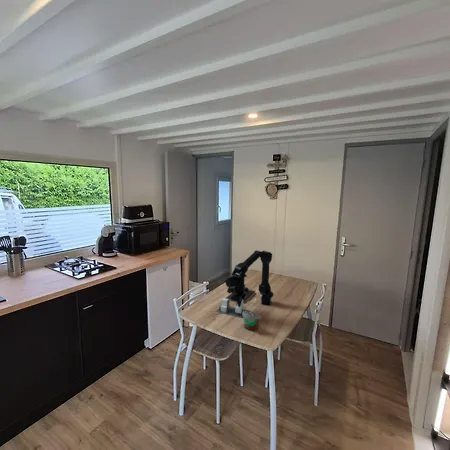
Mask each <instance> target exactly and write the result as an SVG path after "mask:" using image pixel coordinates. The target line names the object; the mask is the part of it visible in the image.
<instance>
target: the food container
mask: <svg viewBox="0 0 450 450" xmlns="http://www.w3.org/2000/svg"><path fill="white" fill-rule="evenodd" d="M247 310H248V309H246V308H245V307H244V310H243V313H242V315H243V316H244V318H243V326H244V328H245V330H247V331H250V332H254V331H258V330H259V325H260V319H261V314H256V313H254V312H253V311H251V310H250V311H251V312H250V311H247Z"/></svg>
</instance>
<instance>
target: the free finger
mask: <svg viewBox="0 0 450 450" xmlns="http://www.w3.org/2000/svg"><path fill="white" fill-rule="evenodd" d="M243 302H244V300H242V303H241V305H240V307H238V304H237V301H236V302H235V306H234V307H235V312H236V313H242V310H244V309H245V303H243Z"/></svg>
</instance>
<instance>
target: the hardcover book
mask: <svg viewBox="0 0 450 450" xmlns="http://www.w3.org/2000/svg"><path fill="white" fill-rule="evenodd" d="M234 294H235V293H234V292H233V293H229V295H228V296H226V297H225V298H226V299H229V301H232V300H231V296H232V295H234ZM236 294H237V293H236ZM245 294H247V295H246V297H245V299H244V302H243V304H245V303H246V302H248V301H249V300H250V299H251V298H252V297H253V296H254V295H255V294H256V291H255V290H252V289H249V292H248V293H247V292H246V291H245ZM232 302H233V301H232ZM234 302H235V303H236V301H234Z"/></svg>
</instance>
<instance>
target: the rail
mask: <svg viewBox="0 0 450 450" xmlns="http://www.w3.org/2000/svg"><path fill="white" fill-rule="evenodd" d="M221 306H222V304H220V305H219V306H218V308H217V310H215V312H214V313H219V314H223V315H225V316H226V315H228V316H231V317H235V318H240V319H244V316H243V315H242V313H243V310H242V313H236V312H235V307H236V306H231V305H230V307H227V312H222V311H221ZM246 310H247V311H250V312H252V310H248V309H246Z"/></svg>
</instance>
